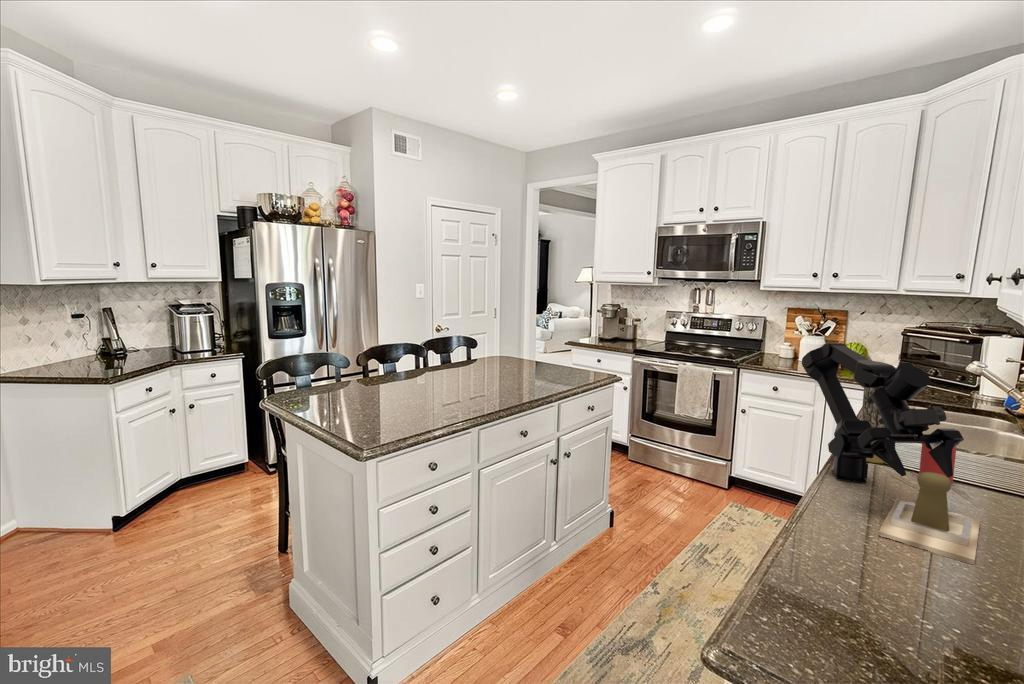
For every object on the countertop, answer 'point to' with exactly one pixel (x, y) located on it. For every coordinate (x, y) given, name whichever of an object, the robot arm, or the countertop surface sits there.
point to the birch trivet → (933, 543)
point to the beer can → (933, 462)
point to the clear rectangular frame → (931, 531)
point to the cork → (932, 501)
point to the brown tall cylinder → (871, 418)
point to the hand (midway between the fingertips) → (927, 476)
